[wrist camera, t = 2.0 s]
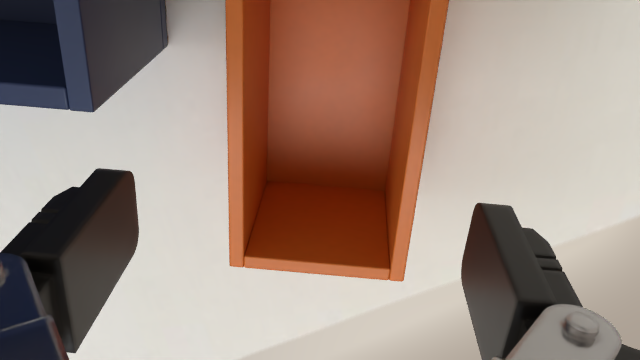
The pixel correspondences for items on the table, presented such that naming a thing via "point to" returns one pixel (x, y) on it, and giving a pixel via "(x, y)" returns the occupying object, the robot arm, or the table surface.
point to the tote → (75, 49)
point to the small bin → (328, 131)
